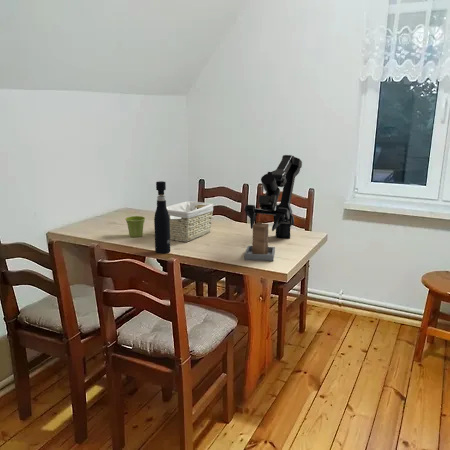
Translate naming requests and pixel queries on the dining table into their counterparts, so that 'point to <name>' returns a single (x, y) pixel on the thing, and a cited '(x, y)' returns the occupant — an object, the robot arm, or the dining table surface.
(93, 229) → the dining table surface
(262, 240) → the walnut block
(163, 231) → the black bottle
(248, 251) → the tray
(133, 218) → the plant pot
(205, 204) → the storage basket
